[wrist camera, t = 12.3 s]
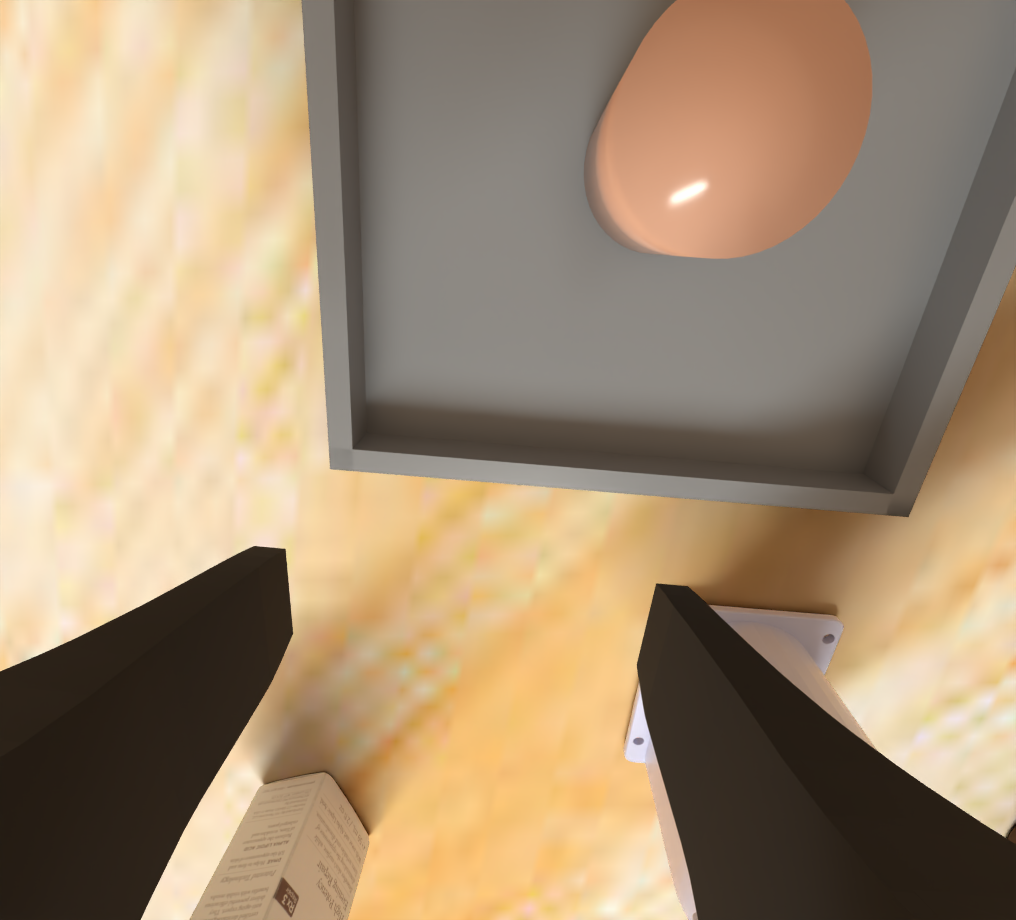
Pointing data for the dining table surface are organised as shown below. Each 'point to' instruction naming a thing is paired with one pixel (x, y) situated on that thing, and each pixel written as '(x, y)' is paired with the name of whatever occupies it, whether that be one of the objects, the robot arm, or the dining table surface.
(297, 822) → the skincare box
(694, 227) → the pink rounded cylinder
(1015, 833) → the olive oil
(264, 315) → the dining table surface
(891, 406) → the tray
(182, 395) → the dining table surface
